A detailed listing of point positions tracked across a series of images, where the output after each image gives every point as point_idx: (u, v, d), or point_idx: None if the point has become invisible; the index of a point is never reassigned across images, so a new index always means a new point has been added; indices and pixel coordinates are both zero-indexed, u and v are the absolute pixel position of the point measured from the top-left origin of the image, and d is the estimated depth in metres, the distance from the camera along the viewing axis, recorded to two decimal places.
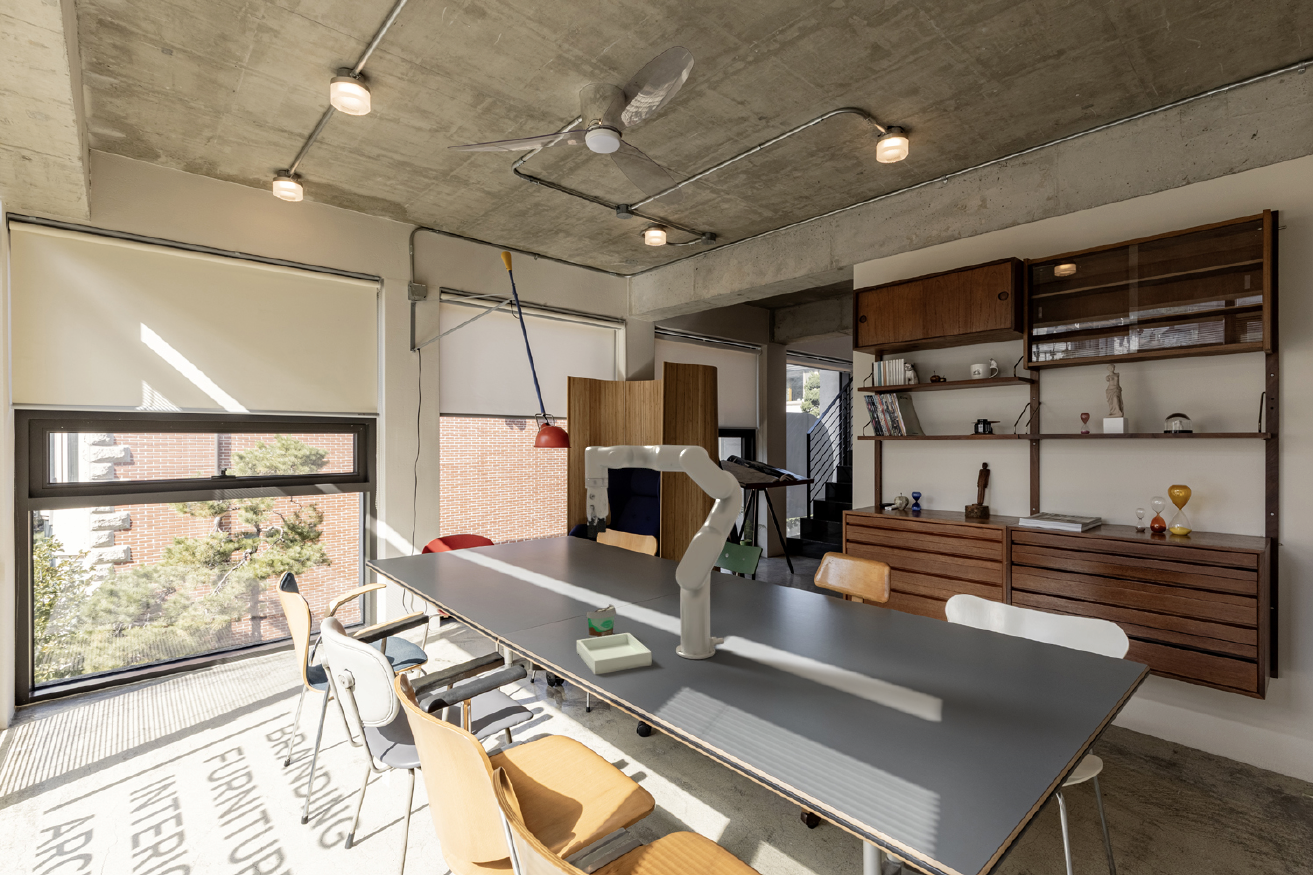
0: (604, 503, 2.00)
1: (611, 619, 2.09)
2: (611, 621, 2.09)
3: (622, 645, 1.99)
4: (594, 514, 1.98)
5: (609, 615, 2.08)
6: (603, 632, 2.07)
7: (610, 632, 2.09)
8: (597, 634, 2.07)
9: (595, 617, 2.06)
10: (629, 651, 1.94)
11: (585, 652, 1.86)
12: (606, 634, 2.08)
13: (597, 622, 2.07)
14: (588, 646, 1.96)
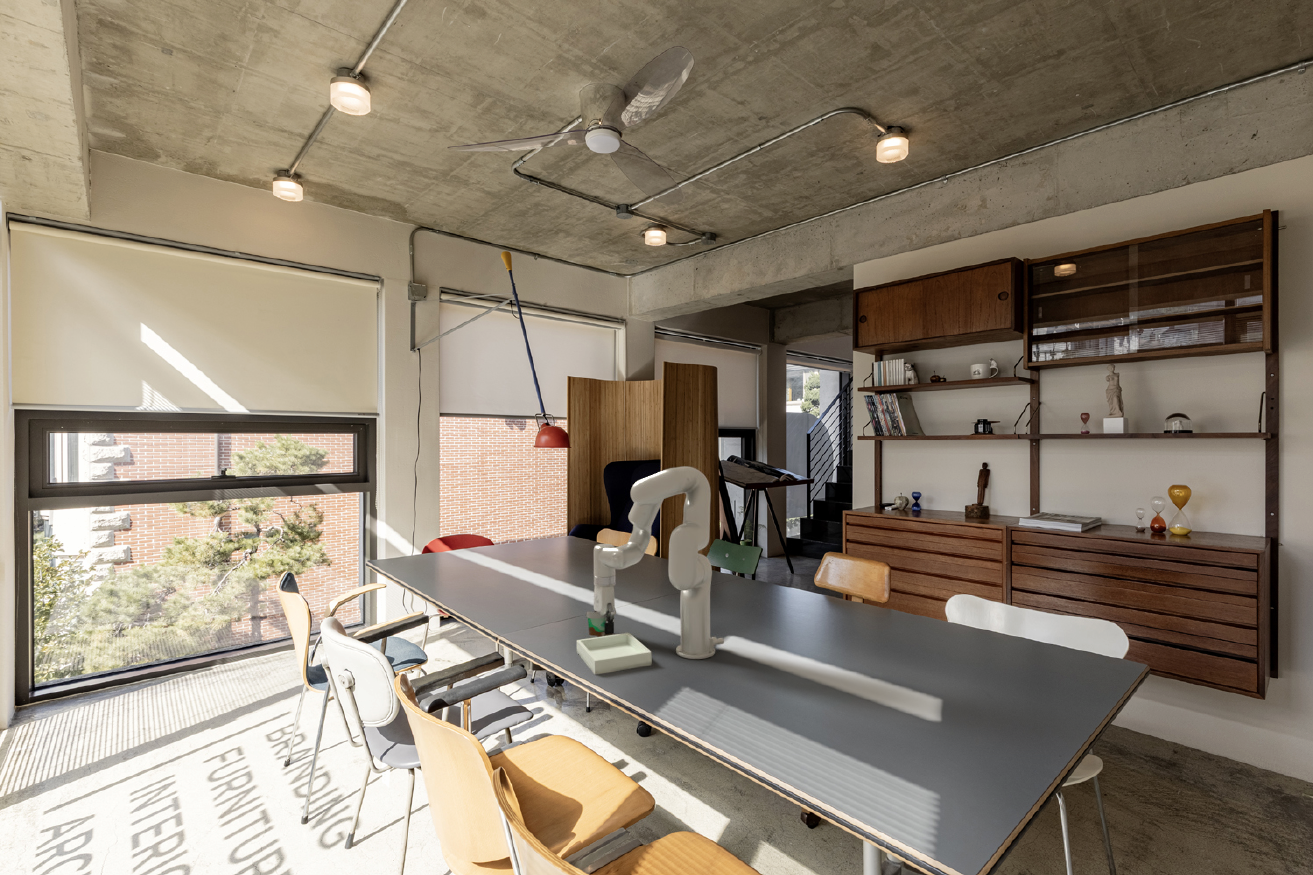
0: (596, 599, 2.09)
1: None
2: None
3: (622, 645, 1.99)
4: None
5: None
6: (603, 632, 2.07)
7: None
8: (597, 634, 2.07)
9: (595, 617, 2.06)
10: (629, 651, 1.94)
11: (585, 652, 1.86)
12: None
13: (597, 622, 2.07)
14: (588, 646, 1.96)
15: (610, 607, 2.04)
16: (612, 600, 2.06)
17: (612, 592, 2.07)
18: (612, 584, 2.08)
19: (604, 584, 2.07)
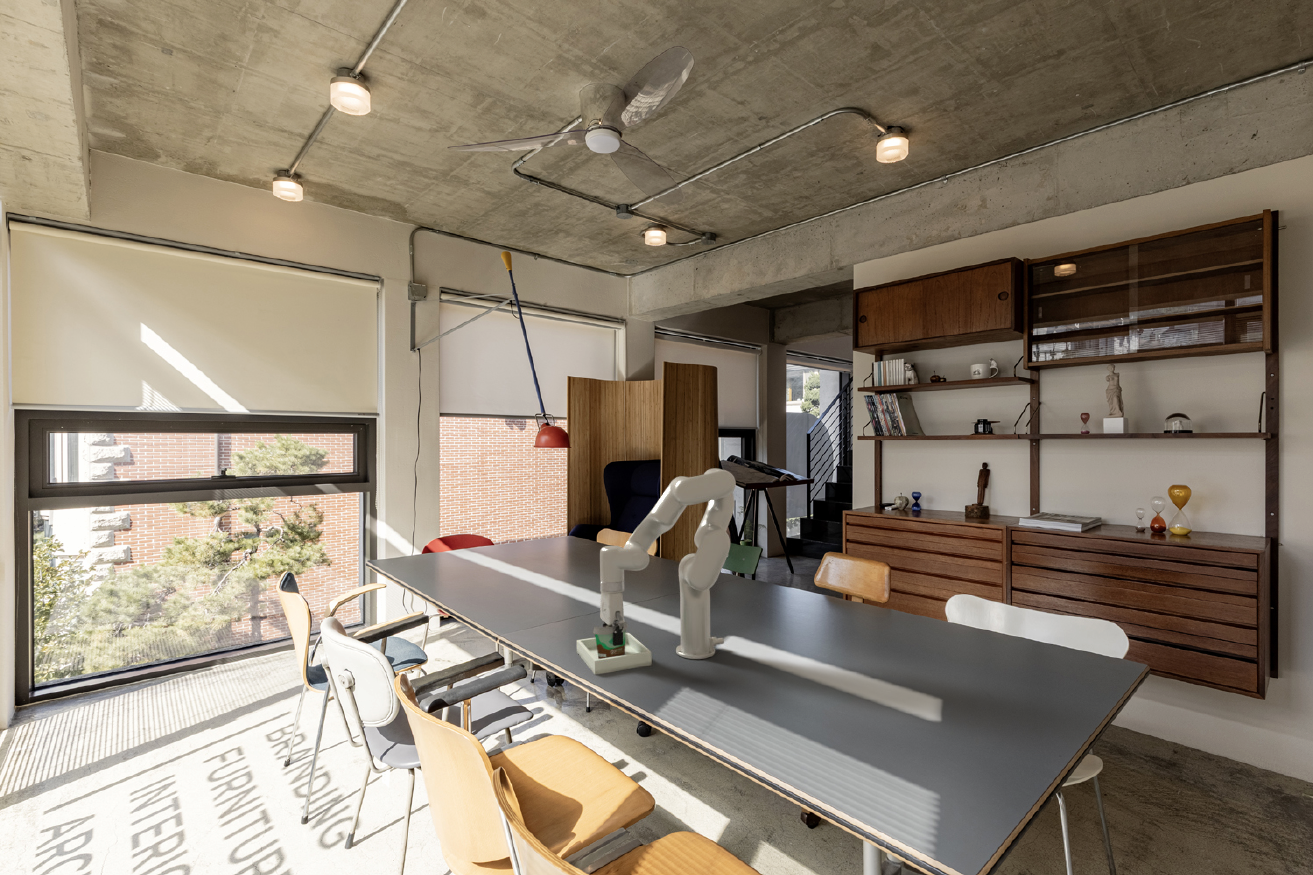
0: (603, 607, 1.89)
1: None
2: None
3: None
4: None
5: None
6: (612, 649, 1.86)
7: (621, 650, 1.88)
8: (606, 652, 1.86)
9: (602, 633, 1.85)
10: (629, 651, 1.94)
11: (585, 652, 1.86)
12: (616, 652, 1.87)
13: (604, 639, 1.86)
14: (588, 646, 1.96)
15: (619, 615, 1.84)
16: (621, 608, 1.86)
17: (621, 599, 1.86)
18: (621, 590, 1.88)
19: (612, 590, 1.86)
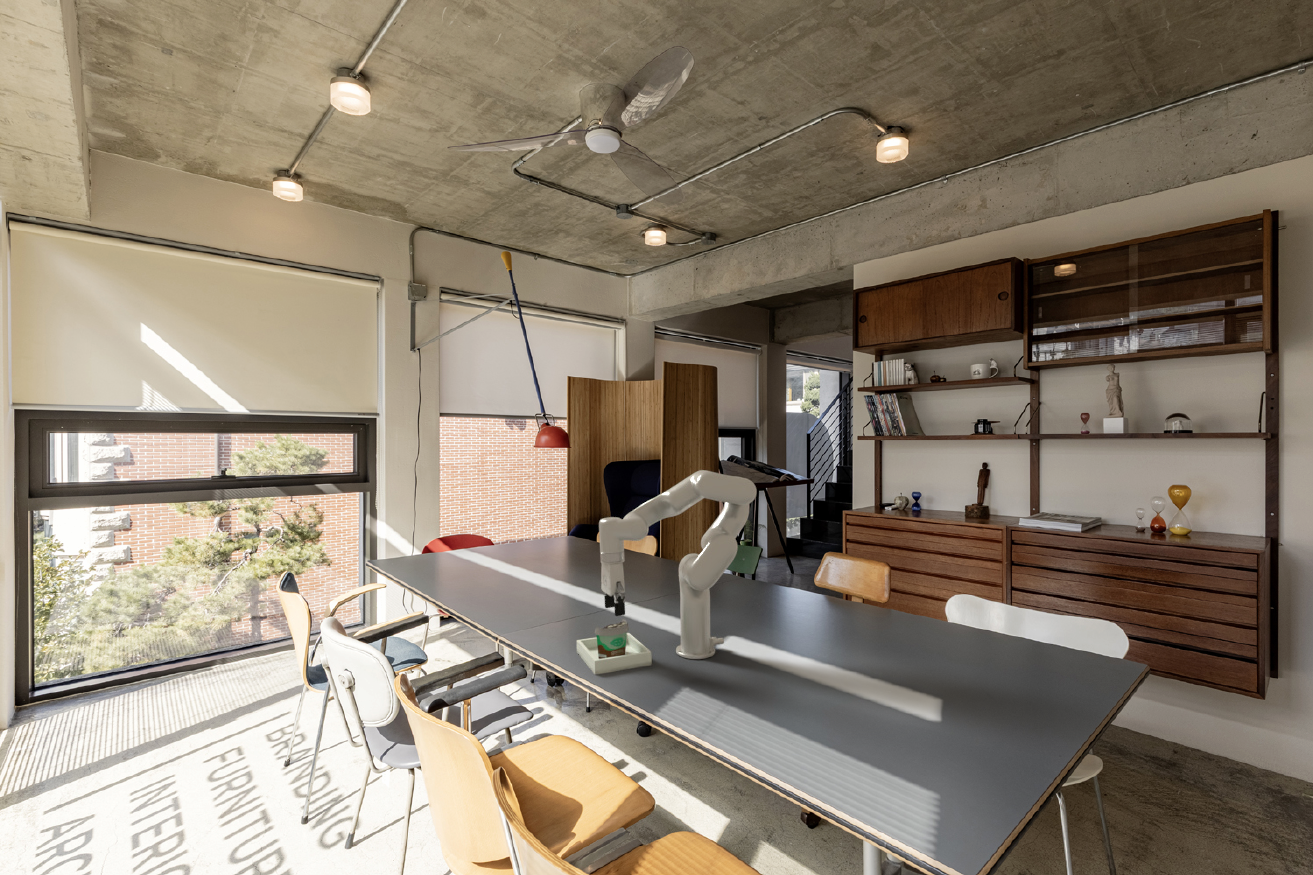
0: (604, 578, 1.90)
1: (622, 637, 1.88)
2: (622, 639, 1.88)
3: None
4: None
5: (620, 632, 1.86)
6: (613, 650, 1.86)
7: (621, 651, 1.88)
8: (606, 653, 1.86)
9: (604, 634, 1.85)
10: (629, 651, 1.94)
11: (585, 652, 1.86)
12: (616, 653, 1.87)
13: (606, 640, 1.86)
14: (588, 646, 1.96)
15: (620, 585, 1.84)
16: (622, 578, 1.86)
17: (621, 570, 1.87)
18: (621, 561, 1.88)
19: (612, 561, 1.86)
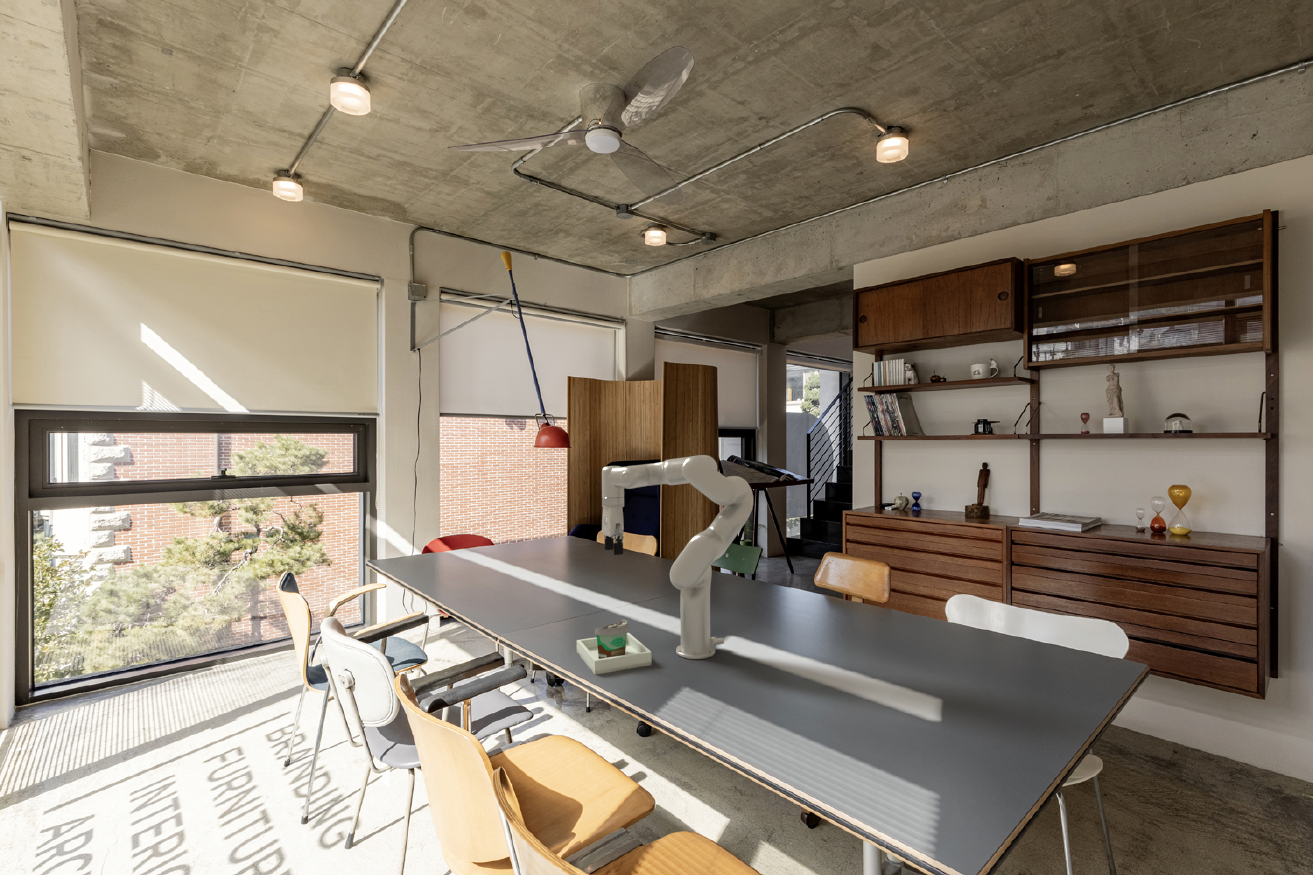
0: (605, 521, 2.06)
1: (622, 637, 1.88)
2: (622, 639, 1.88)
3: None
4: None
5: (620, 632, 1.86)
6: (613, 650, 1.86)
7: (621, 651, 1.88)
8: (606, 653, 1.86)
9: (604, 634, 1.85)
10: (629, 651, 1.94)
11: (585, 652, 1.86)
12: (616, 653, 1.87)
13: (606, 640, 1.86)
14: (588, 646, 1.96)
15: (619, 527, 2.01)
16: (621, 521, 2.03)
17: (621, 513, 2.04)
18: (621, 505, 2.05)
19: (613, 505, 2.04)
